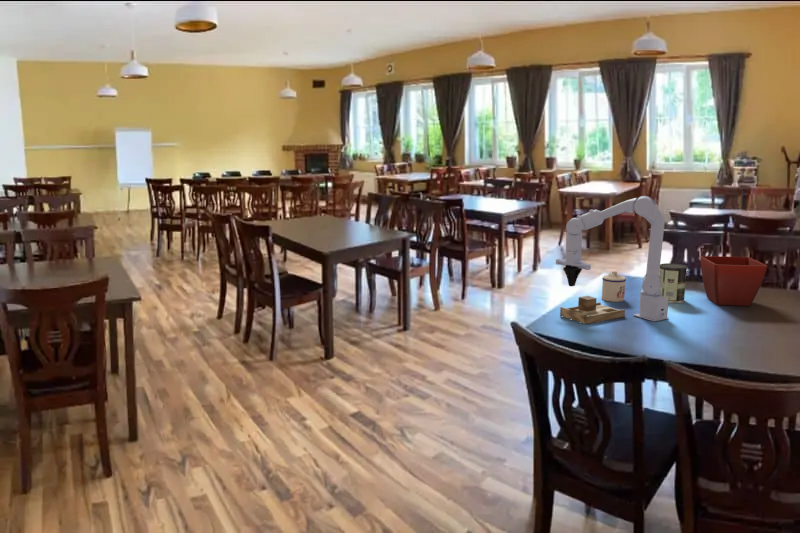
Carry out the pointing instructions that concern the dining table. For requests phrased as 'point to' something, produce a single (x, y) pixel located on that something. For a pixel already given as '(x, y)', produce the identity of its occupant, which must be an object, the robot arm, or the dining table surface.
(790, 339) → the dining table surface
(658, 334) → the dining table surface
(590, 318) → the board
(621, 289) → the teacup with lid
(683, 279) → the coffee can
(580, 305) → the walnut block
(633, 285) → the dining table surface
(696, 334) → the dining table surface
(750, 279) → the plant pot
